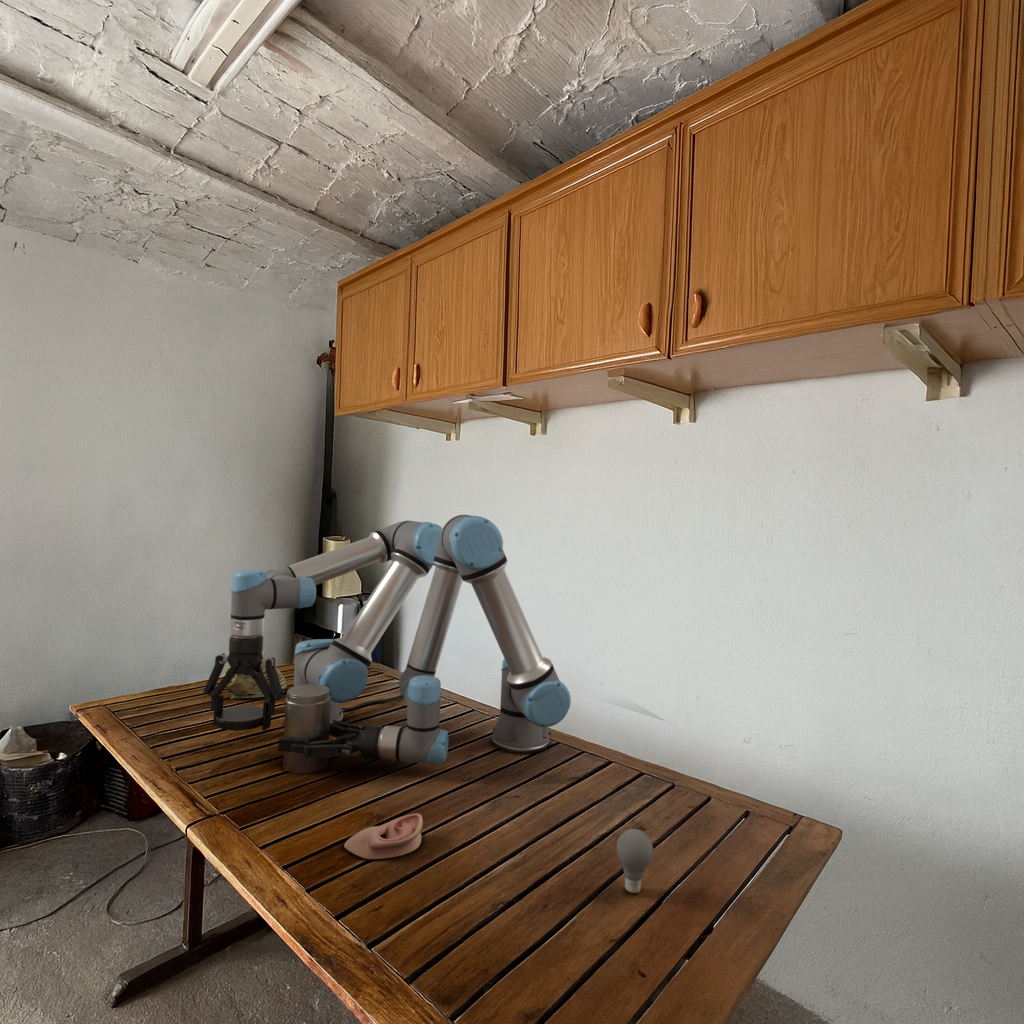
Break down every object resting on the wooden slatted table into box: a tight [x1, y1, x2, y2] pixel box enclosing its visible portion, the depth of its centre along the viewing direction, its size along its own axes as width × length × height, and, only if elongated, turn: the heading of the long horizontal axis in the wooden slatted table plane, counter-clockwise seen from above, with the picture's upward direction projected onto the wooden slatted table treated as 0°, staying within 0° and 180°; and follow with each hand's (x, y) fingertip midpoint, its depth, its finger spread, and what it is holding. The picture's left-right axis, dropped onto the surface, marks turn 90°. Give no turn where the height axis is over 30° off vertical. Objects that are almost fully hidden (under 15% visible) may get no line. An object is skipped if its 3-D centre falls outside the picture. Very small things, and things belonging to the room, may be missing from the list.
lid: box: [215, 705, 263, 731], centre depth 151 cm, size 12×12×2 cm
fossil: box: [222, 649, 288, 699], centre depth 198 cm, size 9×18×15 cm, turn 132°
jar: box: [282, 684, 331, 775], centre depth 149 cm, size 10×10×18 cm
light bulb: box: [615, 828, 654, 894], centre depth 106 cm, size 6×6×10 cm
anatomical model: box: [343, 813, 424, 860], centre depth 117 cm, size 13×4×12 cm
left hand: (241, 726), depth 151 cm, fingers closed on lid, 11 cm apart
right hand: (289, 735), depth 150 cm, fingers closed on jar, 10 cm apart
